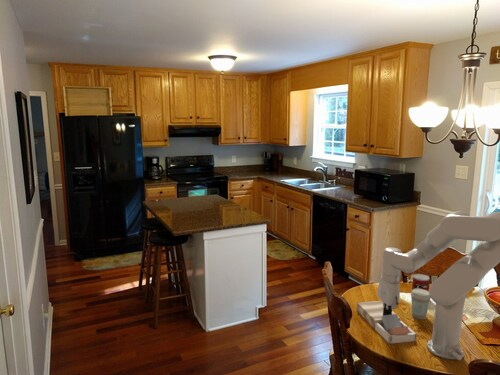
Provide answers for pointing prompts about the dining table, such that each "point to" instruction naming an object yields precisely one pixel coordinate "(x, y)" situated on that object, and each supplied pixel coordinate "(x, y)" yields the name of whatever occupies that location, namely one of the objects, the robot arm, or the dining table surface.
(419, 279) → the canned food
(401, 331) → the tile terracotta
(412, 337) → the box
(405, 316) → the dining table surface
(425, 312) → the coffee cup
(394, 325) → the tile slate
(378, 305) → the birch plate
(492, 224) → the robot arm
